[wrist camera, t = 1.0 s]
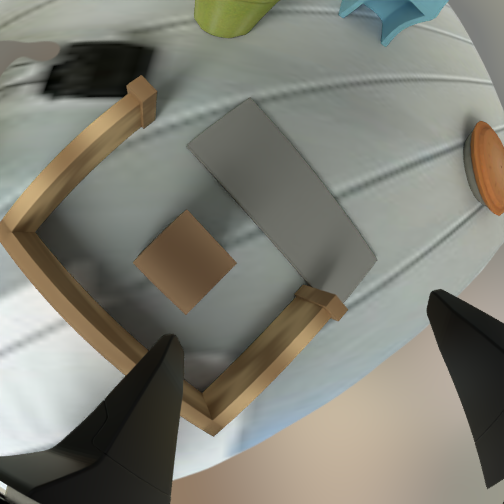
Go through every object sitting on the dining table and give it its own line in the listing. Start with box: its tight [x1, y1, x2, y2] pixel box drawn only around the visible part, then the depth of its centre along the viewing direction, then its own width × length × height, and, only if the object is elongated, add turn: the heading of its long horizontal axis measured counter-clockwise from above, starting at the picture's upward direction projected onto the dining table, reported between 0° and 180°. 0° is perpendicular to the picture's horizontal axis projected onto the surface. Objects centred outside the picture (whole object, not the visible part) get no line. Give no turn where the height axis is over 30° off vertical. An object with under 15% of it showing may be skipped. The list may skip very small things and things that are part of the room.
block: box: [133, 210, 237, 315], centre depth 20 cm, size 4×4×6 cm
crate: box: [0, 75, 348, 437], centre depth 20 cm, size 14×23×5 cm, turn 43°
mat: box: [186, 98, 377, 303], centre depth 25 cm, size 7×20×1 cm, turn 43°
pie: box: [464, 121, 504, 216], centre depth 34 cm, size 15×16×5 cm
